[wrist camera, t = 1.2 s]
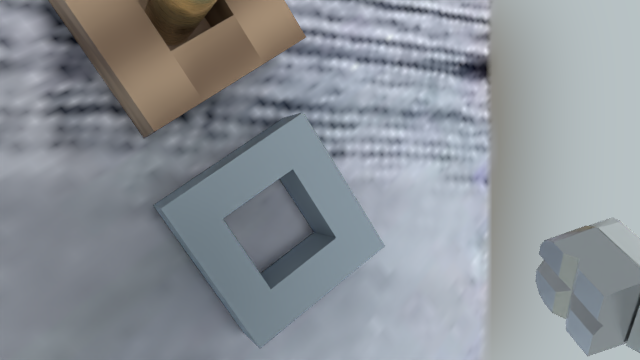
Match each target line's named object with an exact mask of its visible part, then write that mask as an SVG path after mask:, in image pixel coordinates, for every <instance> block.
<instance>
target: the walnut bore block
mask: <svg viewBox="0 0 640 360" xmlns="http://www.w3.org/2000/svg"><path fill="white" fill-rule="evenodd" d="M48 1H49V2H50V3H51V5H52V6H53V8H54V9H55V11H56V12H57V14H58V15H59V16H60V18H61V19H62V21H63V22H64V24H65V25H66V27H67V28H68V29H69V31H70V32H71V34H72V35H73V37H74V38H75V40H76V41H77V42H78V44H79V45H80V47H81V48H82V50H83V51H84V53H85V54H86V55H87V57H88V58H89V60H90V61H91V63H92V64H93V65H94V67H95V68H96V70H97V71H98V73H99V74H100V76H101V77H102V78H103V80H104V81H105V83H106V84H107V86H108V87H109V89H110V90H111V91H112V93H113V94H114V96H115V97H116V99H117V100H118V102H119V103H120V104H121V106H122V107H123V109H124V110H125V112H126V113H127V115H128V116H129V117H130V119H131V120H132V122H133V123H134V125H135V126H136V128H137V129H138V130H139V132H140V133H141V135H142V136H143V138H145V137H147V136H149V135H150V134H152V133H153V132H155V131H157V130H158V129H160V128H161V127H163V126H165V125H166V124H168V123H170V122H171V121H173V120H174V119H176V118H178V117H179V116H181V115H182V114H184V113H186V112H187V111H189V110H190V109H192V108H194V107H195V106H197V105H198V104H200V103H202V102H203V101H205V100H206V99H208V98H210V97H211V96H213V95H214V94H216V93H218V92H219V91H221V90H222V89H224V88H226V87H227V86H229V85H230V84H232V83H234V82H235V81H237V80H238V79H240V78H242V77H243V76H245V75H246V74H248V73H250V72H251V71H253V70H254V69H256V68H258V67H259V66H261V65H262V64H264V63H266V62H267V61H269V60H270V59H272V58H274V57H275V56H277V55H278V54H280V53H282V52H283V51H285V50H286V49H288V48H290V47H291V46H293V45H294V44H296V43H298V42H299V41H301V40H303V39H304V38H306V36H305V35H304V33H303V31H302V30H301V28H300V26H299V24H298V23H297V21H296V19H295V18H294V16H293V14H292V13H291V11H290V9H289V8H288V6H287V4H286V2H285V1H284V0H217V1H216V3H215V4H214V5H213V6H212V8H211V9H210V10H209V12H208V13H207V14H206V16H205V17H204V18H203V20H202V21H201V22H200V23H199V25H198V26H197V27H196V29H195V30H194V31H193V33H192V34H191V35H190V36H189V38H188V39H187V40H186V41H184V42H183V43H181V44H178V45H166V43H165V42H164V40H163V39H162V37H161V36H160V34H159V33H158V31H157V30H156V28H155V27H154V25H153V23H152V22H151V20H150V19H149V17H148V16H147V14H146V13H145V8H146V5H147V3H148V0H48Z"/></svg>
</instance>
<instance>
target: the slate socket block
mask: <svg viewBox="0 0 640 360" xmlns="http://www.w3.org/2000/svg"><path fill="white" fill-rule="evenodd" d="M278 179H280V180H281V182H282V183H283V185H284V186H285V188H286V189H287V191H288V192H289V194H290V196H291V197H292V199H293V200H294V202H295V203H296V205H297V206H298V208H299V210H300V211H301V213H302V214H303V216H304V217H305V219H306V221H307V222H308V224H309V225H310V227H311V228H312V230H313V231H314V233H313V234H311V235H310V236H309V237H307V238H306V239H305V240H304V241H302V242H301V243H300V244H298V245H297V246H296V247H294V248H293V249H292V250H291V251H289V252H288V253H287V254H285V255H284V256H283V257H282V258H280V259H279V260H278V261H276V262H275V263H274V264H272V265H271V266H270V267H269V268H267V269H266V270H265V271H263V272H262V273H261V274H260V273H259V271H258V270H257V268H256V267H255V265H254V264H253V262H252V261H251V259H250V258H249V257H248V255H247V254H246V252H245V251H244V249H243V248H242V246H241V245H240V243H239V242H238V240H237V239H236V237H235V236H234V235H233V233H232V232H231V230H230V229H229V227H228V226H227V224H226V223H225V221H224V220H223V219H224V218H225V217H226V216H228V215H229V214H231V213H232V212H233V211H235V210H236V209H238V208H239V207H240V206H242V205H243V204H245V203H246V202H247V201H249V200H250V199H252V198H253V197H254V196H256V195H257V194H259V193H260V192H261V191H263V190H264V189H266V188H267V187H268V186H270V185H271V184H273V183H274V182H275V181H277V180H278ZM153 206H154V207H155V209H156V210H157V211H158V213H159V214H160V216H161V217H162V218H163V220H164V221H165V223H166V224H167V225H168V227H169V228H170V230H171V231H172V232H173V234H174V235H175V237H176V238H177V240H178V241H179V242H180V244H181V245H182V247H183V248H184V249H185V251H186V252H187V254H188V255H189V256H190V258H191V259H192V261H193V262H194V263H195V265H196V266H197V268H198V269H199V270H200V272H201V273H202V275H203V276H204V277H205V279H206V280H207V282H208V283H209V285H210V286H211V287H212V289H213V290H214V292H215V293H216V294H217V296H218V297H219V299H220V300H221V301H222V303H223V304H224V306H225V307H226V308H227V310H228V311H229V313H230V314H231V315H232V317H233V318H234V320H235V321H236V322H237V324H238V325H239V327H240V328H241V330H242V331H243V332H244V333H245V334H246V335H247V336H248V337H249V338H250V339H251V340H252V341H253V342H254V343H255V344H256V345H257V346H258V347H259V348H261V347H263V346H264V345H265V344H266V343H267V342H269V341H270V340H271V339H272V338H274V337H275V336H276V335H277V334H278V333H280V332H281V331H282V330H283V329H285V328H286V327H287V326H288V325H289V324H291V323H292V322H293V321H294V320H295V319H297V318H298V317H299V316H300V315H302V314H303V313H304V312H305V311H306V310H308V309H309V308H310V307H311V306H313V305H314V304H315V303H316V302H317V301H319V300H320V299H321V298H322V297H323V296H325V295H326V294H327V293H328V292H330V291H331V290H332V289H333V288H334V287H336V286H337V285H338V284H339V283H340V282H342V281H343V280H344V279H345V278H347V277H348V276H349V275H350V274H351V273H353V272H354V271H355V270H356V269H358V268H359V267H360V266H361V265H362V264H364V263H365V262H366V261H367V260H368V259H370V258H371V257H372V256H373V255H375V254H376V253H377V252H378V251H379V250H381V249H382V248H383V247H384V246H385V245H384V244H383V242H382V240H381V239H380V237H379V235H378V234H377V232H376V230H375V229H374V227H373V226H372V224H371V222H370V221H369V219H368V217H367V216H366V214H365V212H364V211H363V209H362V208H361V206H360V204H359V203H358V201H357V199H356V198H355V196H354V194H353V193H352V191H351V190H350V188H349V186H348V185H347V183H346V181H345V180H344V178H343V177H342V175H341V173H340V172H339V170H338V168H337V167H336V165H335V163H334V162H333V160H332V159H331V157H330V155H329V154H328V152H327V150H326V149H325V147H324V145H323V144H322V142H321V141H320V139H319V137H318V136H317V134H316V132H315V131H314V129H313V127H312V126H311V124H310V123H309V121H308V119H307V118H306V116H305V114H304V113H299V114H296V115H292V116H289V117H285V118H283V119H281V120H280V121H278V122H277V123H275V124H274V125H272V126H271V127H269V128H268V129H266V130H265V131H263V132H262V133H260V134H259V135H257V136H256V137H254V138H253V139H251V140H250V141H248V142H247V143H245V144H244V145H242V146H241V147H239V148H238V149H236V150H235V151H233V152H232V153H231V154H229V155H228V156H226V157H225V158H223V159H222V160H220V161H219V162H217V163H216V164H214V165H213V166H211V167H210V168H208V169H207V170H205V171H204V172H202V173H201V174H199V175H198V176H196V177H195V178H193V179H192V180H190V181H189V182H187V183H186V184H184V185H183V186H181V187H180V188H178V189H177V190H175V191H174V192H172V193H171V194H169V195H168V196H166V197H165V198H163V199H162V200H161V201H159V202H158V203H156V204H155V205H153Z"/></svg>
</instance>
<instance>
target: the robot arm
mask: <svg viewBox="0 0 640 360" xmlns="http://www.w3.org/2000/svg"><path fill="white" fill-rule="evenodd" d="M539 255H540V256H541V257H542V258H543V259H544V261H543V262H542V263H541V265H540V266H539V267H538V268H537V271H536V284H537V288H538V291H539V294H540V296H541V298H542V300H543V302H544V303H545V305H546V306H547V307H548V308H549V310H550V311H551V312H552V313H554V314H556V315H558V316H560V317H563V318H565V319H566V331H567V332H568V333H569V334H570V336H571V337H572V338H573V339H574V340H575V341H576V343H577V344H578V345H579V347H580V348H581V349H582V350H583V351H584V353H585V354H586V355H587V356H590V355H593V354H596V353H599V352H602V351H605V350H608V349H611V348H613V347H617V346H619V345H622V344H625V343H627V344H626V346H628V347H630V348H631V349H633V350H635V351H637V352H639V353H640V238H639V237H638V236H637V235H636V234H635V233H633V232H632V231H631V230H630V229H629V228H628V227H627V226H625V225H624V224H623V223H622V222H621V221H619V220H617V219H615V218H609V219H606V220H603V221H600V222H597V223H595V224H592V225H589V226H584V227H581V228H578V229H575V230H573V231H569V232H567V233H564V234H561V235H558V236H555V237H553V238H550V239H547V240H544V242H543V243H542V244H541V246H540V251H539Z"/></svg>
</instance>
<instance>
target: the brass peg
mask: <svg viewBox="0 0 640 360" xmlns="http://www.w3.org/2000/svg"><path fill="white" fill-rule="evenodd" d="M216 1H217V0H148V3H147V5H146V8H145V13H146V14H147V16H148V17H149V19H150V20H151V22H152V23H153V25H154V27H155V28H156V30H157V31H158V33H159V34H160V36H161V37H162V39H163V40H164V42H165V43H166V45H178V44H181V43H183V42H184V41H186V40H187V39H188V38H189V36H190V35H191V34H192V33H193V31H194V30H195V29H196V27H197V26H198V25H199V23H200V22H201V21H202V20H203V18H204V17H205V16H206V14H207V13H208V12H209V10H210V9H211V8H212V6H213V5H214V4H215V3H216Z"/></svg>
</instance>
